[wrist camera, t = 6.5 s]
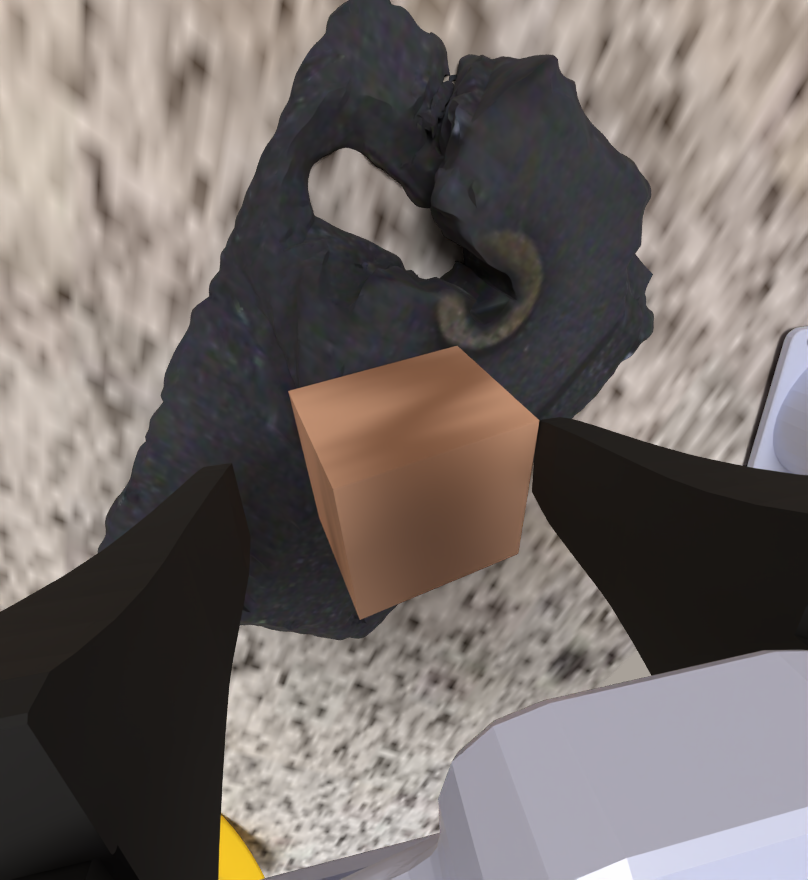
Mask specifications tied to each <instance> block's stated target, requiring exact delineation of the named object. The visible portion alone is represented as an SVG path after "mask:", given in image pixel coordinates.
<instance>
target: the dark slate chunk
mask: <svg viewBox="0 0 808 880" xmlns="http://www.w3.org/2000/svg"><path fill="white" fill-rule="evenodd" d="M445 75H449V81H446V82H443V79H444V76H445ZM453 80H456V82H455V86H454V85H453V83H452V82H451V81H453ZM341 148H351V149H354V150H356V151H358V152H361V153H362V154H364V155H365V156H367V157H368V158H369V159H370V160H371V161H372V162H373V163H374V164H375V165H376V166H377V167H379V168H383V169H384V170H385V171H386V172H387V173H388V174H389V175H391V176H392V177H393V178H394V179H396V180H397V181H398V182H399V183H400V184H401V185H402V187H403V189H404V190H405V192H406V194H407V196H408V197H409V198H410V200H411V201H412V202H413V203H414V204H415V205H416V206H418V207H422V208H431V213H432V216H433V219H434V221H435V222H436V224H437V225H438V226H439V227H440V228H441V230H442V233H443V236H445V237H446V238H448V239H450V240H452V241H454V242H455V243H457V244H459V245H461V246H462V247H463V253H464V259H465V264H462V263H460V262H457V261H455V264H454V266H453V269H452V270H450V271H449V272H447V273H446V274H444V275H443V276H442V277H441V278H440V279H439V278H437V277H433V278H430V279H427V280H425V279H422V278H419V277H418V275H416V274H415V273H414V271H412V270H405V268H404V265H403V263H402V261H401V259H400V258H399V257H398V256H397V255H395V254H393V253H391V252H389V251H387V250H385V249H383V248H381V247H379V246H378V245H376V244H374V243H372V242H370V241H368V240H366V239H364V238H361V237H359V236H356V235H354V234H351V233H348V232H345V231H343V230H341V229H339V228H337V227H335V226H333V225H331V224H329V223H328V222H326V221H324V220H322V219H320V218H318V217H316V216H314V213H313V210H312V206H311V203H310V199H309V194H308V178H309V173H310V170H311V168H312V166H313V165H314V164H315V163H316V162H317V161H318V160H319V159H321V158H322V157H324V156H326V155H328V154H330V153H332V152H334V151H336V150H338V149H341ZM650 198H651V188H650V185H649V183H648V181H647V180H646V179H645V177H644V176H643V175H642V174H641V172H640V171H639V170H638V168H637V166H636V164H635V163H634V162H633V161H632V160H631V159H630V158H628V157H627V156H625V155H623V154H621V153H619V152H618V151H617V150H616V149H615V148H614V147H613V146H612V145H611V144H610V143H609V141H608V140H607V139H606V137H605V136H604V135H603V134H602V133H601V132H600V131H599V130H598V129H597V128H596V127H595V126H594V125H593V124H592V123H591V122H590V120H589V119H588V118H587V116H586V115H585V113H584V111H583V110H582V108H581V105H580V103H579V100H578V97H577V92H576V85H575V82H574V81H573V80H570V79H568V78H566V77H565V76H563V74H562V73H561V71H560V69H559V65H558V59H557V58H556V57H555V56H553V55H537V56H531V57H527V58H522V59H516V58H511V57H504V56H503V57H499V58H496V59H490V58H488V57H486V56H484V55H480V56H477V55H466V56H464V57H462V58H461V59H460V61H459V65H458V73H457V75H451V76H450V72H449V68H448V60H447V51H446V48H445V45H444V43H443V42H442V40H441V39H440V38H439V37H438V36H437V35H435V34H434V33H432V32H430V34H429V33H427V32H425V31H423V30H422V29H421V28H420V27H419V26H418V25H417V24H416V22H415V21H414V19H413V18H412V16H411V15H410V14H409V12H408V11H407V10H406V9H404V8H403V7H401V6H395V5H392V4H391V2H390V0H349V1H347V2H345V3H343V4H342V5H341V6H339V7H338V8H337V9H336V10H335V11H334V12H333V13H332V14H331V15H330V17H329V19H328V22H327V27H326V33H325V35H324V36H323V37H322V38H321V39H320V40H319V41H318V42H317V43H316V44H315V45H314V46H313V47H312V48H311V50H310V51H309V52H308V54H307V56H306V57H305V59H304V60H303V62H302V64H301V66H300V68H299V69H298V71H297V73H296V76H295V79H294V82H293V86H292V90H291V95H290V98H289V101H288V103H287V105H286V106H285V108H284V110H283V112H282V113H281V116H280V119H279V123H278V127H277V130H276V132H275V134H274V136H273V137H272V139H271V140H270V142H269V143H268V144H267V146H266V147H265V149H264V151H263V153H262V155H261V157H260V160H259V163H258V166H257V169H256V172H255V175H254V178H253V180H252V182H251V184H250V186H249V188H248V190H247V192H246V195H245V198H244V201H243V204H242V207H241V209H240V211H239V213H238V215H237V217H236V221H235V228H234V229H233V231H232V233H231V235H230V237H229V239H228V241H227V244H226V247H225V249H224V250H223V251H222V253H221V256H220V270H219V272H218V273H217V274H216V275H215V277H214V278H213V279H212V280H211V283H210V286H209V297H208V298H207V299H205V300H204V301H202V302H201V303H200V304H198V305H197V306H196V307H195V308H194V309H193V310H192V313H191V319H190V325H189V328H188V330H187V332H186V333H185V335H184V337H183V338H182V340H181V341H180V343H179V345H178V346H177V348H176V350H175V352H174V354H173V356H172V359H171V361H170V363H169V365H168V368H167V370H166V373H165V377H164V388H163V390H162V393H161V398H162V400H163V403H162V404H161V406H160V407H159V408H158V409H157V410H156V412H155V413H154V414H153V416H152V417H151V419H150V425H149V430H148V432H147V434H146V436H145V438H146V442H145V443H144V444H142V446H141V447H140V448H139V450H138V453H137V455H136V458H135V461H134V465H133V469H132V474H131V478H130V480H129V482H128V484H127V485H126V487H125V488H124V490H123V491H122V493H121V494H120V495H119V496H118V497H117V498H116V500H115V501H114V503H113V505H112V506H111V508H110V510H109V512H108V514H107V516H106V520H105V526H106V535H105V538H104V540H103V541H102V543H101V544H100V546H99V548H98V553H99V552H101V551H102V550H103V549H105V548H106V547H108V546H109V545H110V544H112V543H113V542H114V541H116V540H117V539H118V538H120V537H121V536H122V535H123V534H125V533H126V532H127V531H128V530H130V529H131V528H132V527H133V526H135V525H136V524H137V523H138V522H140V521H141V520H142V519H143V518H145V517H146V516H147V515H148V514H150V513H151V512H152V511H153V510H154V509H155V508H156V507H158V506H159V505H160V504H161V503H162V502H163V501H164V500H166V499H167V498H168V497H169V496H170V495H171V494H172V493H173V492H175V491H176V490H177V489H178V488H179V487H180V486H181V485H182V484H184V483H185V482H186V481H187V480H188V479H189V478H190V477H191V476H193V475H194V474H195V473H196V472H197V471H199V470H200V469H201V468H203V467H206V466H214V465H221V464H228V463H232V465H233V469H234V473H235V477H236V481H237V485H238V489H239V493H240V497H241V501H242V505H243V509H244V513H245V517H246V521H247V525H248V529H249V533H250V537H251V541H250V566H249V578H248V584H247V589H246V595H245V600H244V605H243V611H242V616H241V621H240V625H256V626H262V627H265V628H268V629H272V630H277V631H290V632H296V633H300V634H311V635H314V636H318V637H324V638H330V639H335V640H343V639H346V638H348V637H351V638H357V639H359V638H363V637H365V636H367V635H368V634H369V633H371V632H372V631H373V630H374V629H375V628H376V627H377V626H378V625H379V624H380V623H381V622H382V621H383V620H384V619H385V617H386V616H387V615H388V614H389V613H390V612H391V611H392V610H393V609H394V608H395V607H396V606H397V605H398V604H397V605H394V606H392V607H390V608H387V609H385V610H382V611H380V612H378V613H375V614H373V615H370V616H368V617H366V618H363V619H361V620H360V619H359V616H358V614H357V611H356V609H355V606H354V604H353V601H352V599H351V596H350V594H349V591H348V589H347V586H346V584H345V581H344V579H343V576H342V574H341V571H340V569H339V566H338V564H337V561H336V559H335V556H334V554H333V551H332V549H331V546H330V543H329V541H328V538H327V536H326V533H325V531H324V528H323V526H322V523H321V521H320V518H319V515H318V510H317V506H316V502H315V498H314V494H313V490H312V486H311V482H310V478H309V474H308V470H307V466H306V461H305V457H304V453H303V449H302V445H301V441H300V437H299V433H298V429H297V425H296V421H295V417H294V412H293V408H292V404H291V400H290V396H289V392H288V391H290V390H294V389H298V388H302V387H305V386H309V385H313V384H316V383H320V382H324V381H328V380H331V379H335V378H339V377H343V376H346V375H350V374H354V373H357V372H361V371H365V370H369V369H372V368H376V367H380V366H383V365H387V364H391V363H395V362H398V361H402V360H406V359H410V358H413V357H417V356H421V355H424V354H428V353H432V352H436V351H439V350H443V349H447V348H450V347H454V346H458V347H459V348H460V349H461V350H462V351H464V352H465V353H466V354H467V355H468V356H469V357H470V358H471V359H472V360H473V361H475V362H476V363H477V364H478V365H479V366H480V367H481V368H482V369H483V370H484V371H486V372H487V373H488V374H489V375H490V376H491V377H492V378H493V379H494V380H495V381H497V382H498V383H499V384H500V385H501V386H502V387H503V388H504V389H505V390H506V391H508V392H509V393H510V394H511V395H512V396H513V397H514V398H515V399H516V400H517V401H519V402H520V403H521V404H522V405H523V406H524V407H525V408H526V409H527V410H528V411H530V412H531V413H532V414H533V415H534V416H535V417H536V418H537V419H538V420H542V419H549V418H556V417H564V418H569V419H572V418H573V417H574V416H575V415H576V414H577V413H578V412H580V411H581V410H582V409H583V408H584V407H585V406H586V405H587V404H588V403H589V402H590V401H591V400H592V399H593V398H594V397H595V396H596V395H597V394H598V393H599V391H600V390H601V389H602V387H603V386H604V384H605V383H606V382H607V381H608V379H609V378H610V377H611V376H612V375H613V374H614V372H615V370H616V369H617V367H618V365H619V364H620V363H621V362H622V361H624V360H626V359H627V358H629V357H631V356H632V355H633V354H634V352H635V351H636V350H637V348H638V347H639V345H640V344H641V343H642V342H643V341H645V340H646V339H647V338H649V337H650V335H651V334H652V332H653V328H654V326H653V321H654V315H653V312H652V311H651V310H649V309H648V308H647V306H646V296H645V291H646V287H647V285H648V283H649V281H650V279H651V277H652V275H653V274H652V273H651V272H650V271H649V270H648V269H647V268H646V267H645V266H644V265H643V263H642V262H641V261H640V260H639V258H638V257H637V256H636V254H635V253H636V252H637V250H638V249H639V247H640V246H641V236H642V219H643V214H644V210H645V207H646V205H647V203H648V202H649V200H650ZM534 454H535V451H534ZM533 462H534V458H533Z"/></svg>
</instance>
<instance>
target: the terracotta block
mask: <svg viewBox="0 0 808 880" xmlns="http://www.w3.org/2000/svg"><path fill="white" fill-rule="evenodd" d="M288 392H289V396H290V400H291V404H292V408H293V412H294V417H295V421H296V425H297V429H298V433H299V437H300V441H301V445H302V449H303V453H304V457H305V461H306V466H307V470H308V474H309V478H310V482H311V486H312V490H313V494H314V498H315V502H316V506H317V510H318V515H319V518H320V521H321V523H322V526H323V528H324V531H325V533H326V536H327V538H328V541H329V543H330V546H331V549H332V551H333V554H334V556H335V559H336V561H337V564H338V566H339V569H340V571H341V574H342V576H343V579H344V581H345V584H346V586H347V589H348V591H349V594H350V596H351V599H352V601H353V604H354V606H355V609H356V611H357V614H358V616H359V619H360V620H361V619H363V618H366V617H368V616H370V615H373V614H375V613H378V612H380V611H382V610H385V609H387V608H390V607H392V606H394V605H397V604H399V603H402V602H404V601H406V600H409V599H411V598H414V597H416V596H418V595H421V594H423V593H426V592H428V591H430V590H433V589H435V588H438V587H440V586H442V585H445V584H447V583H449V582H452V581H454V580H457V579H459V578H461V577H464V576H466V575H469V574H471V573H473V572H476V571H478V570H481V569H483V568H485V567H488V566H490V565H493V564H495V563H497V562H500V561H502V560H505V559H507V558H509V557H512V556H514V555H517V554H518V552H519V546H520V539H521V533H522V527H523V521H524V514H525V508H526V502H527V495H528V489H529V483H530V477H531V470H532V464H533V458H534V451H535V445H536V439H537V433H538V426H539V420H538V419H537V418H536V417H535V416H534V415H533V414H532V413H531V412H530V411H528V410H527V409H526V408H525V407H524V406H523V405H522V404H521V403H520V402H519V401H517V400H516V399H515V398H514V397H513V396H512V395H511V394H510V393H509V392H508V391H506V390H505V389H504V388H503V387H502V386H501V385H500V384H499V383H498V382H497V381H495V380H494V379H493V378H492V377H491V376H490V375H489V374H488V373H487V372H486V371H484V370H483V369H482V368H481V367H480V366H479V365H478V364H477V363H476V362H475V361H473V360H472V359H471V358H470V357H469V356H468V355H467V354H466V353H465V352H464V351H462V350H461V349H460V348H459V347H458V346H454V347H450V348H447V349H443V350H439V351H436V352H432V353H428V354H424V355H421V356H417V357H413V358H410V359H406V360H402V361H398V362H395V363H391V364H387V365H383V366H380V367H376V368H372V369H369V370H365V371H361V372H357V373H354V374H350V375H346V376H343V377H339V378H335V379H331V380H328V381H324V382H320V383H316V384H313V385H309V386H305V387H302V388H298V389H294V390H290V391H288Z"/></svg>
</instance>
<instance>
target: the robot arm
mask: <svg viewBox="0 0 808 880" xmlns="http://www.w3.org/2000/svg"><path fill="white" fill-rule="evenodd" d="M807 339H808V326H805V327H798V328H795V329H793V330H792V331H790V332H789V333H788V334H787V336H786V337H785V340H784V343H783V346H782V350H781V353H780V356H779V360H778V363H777V367H776V370H775V373H774V377H773V380H772V384H771V387H770V390H769V394H768V397H767V401H766V404H765V407H764V411H763V414H762V418H761V421H760V424H759V428H758V431H757V435H756V438H755V441H754V445H753V448H752V451H751V455H750V458H749V462H748V465H747V467H746V466H740V465H735V464H730V463H726V462H721V461H716V460H711V459H707V458H702V457H698V456H694V455H690V454H686V453H682V452H679V451H675V450H671V449H668V448H664V447H661V446H657V445H654V444H650V443H647V442H644V441H641V440H637V439H634V438H631V437H628V436H625V435H622V434H619V433H616V432H613V431H610V430H607V429H603V428H600V427H597V426H594V425H591V424H588V423H584V422H581V421H577V420H574V419H569V418H564V417H556V418H549V419H542V420H539V426H538V433H537V439H536V445H535V454H534V469H533V483H532V493H533V495H534V496H535V498H536V500H537V502H538V504H539V506H540V508H541V510H542V512H543V513H544V515H545V517H546V519H547V521H548V522H549V524H550V525H551V527H552V528H553V529H554V531H555V532H556V533H557V535H558V536H559V537H560V539H561V540H562V541H563V543H564V544H565V545H566V547H567V548H568V549H569V551H570V552H571V553H572V555H573V556H574V557H575V559H576V560H577V561H578V562H579V564H580V565H581V566H582V568H583V569H584V570H585V572H586V573H587V574H588V576H589V577H590V578H591V579H592V581H593V582H594V583H595V585H596V586H597V587H598V589H599V590H600V591H601V593H602V594H603V596H604V597H605V598H606V600H607V601H608V603H609V604H610V606H611V607H612V609H613V610H614V612H615V614H616V615H617V617H618V619H619V620H620V622H621V624H622V625H623V627H624V629H625V630H626V632H627V634H628V635H629V637H630V638H631V640H632V642H633V643H634V645H635V647H636V649H637V651H638V652H639V654H640V656H641V658H642V659H643V661H644V663H645V665H646V667H647V668H648V670H649V672H650V674H651V675H652V676H648V677H644V678H640V679H635V680H631V681H626V682H622V683H618V684H613V685H609V686H605V687H600V688H596V689H591V690H587V691H582V692H578V693H574V694H569V695H565V696H560V697H556V698H552V699H547V700H543V701H541V702H538V703H536V704H533V705H531V706H528V707H526V708H523V709H521V710H519V711H516V712H514V713H511V714H509V715H506V716H504V717H501V718H499V719H496V720H494V721H493V722H492V723H491V724H489V725H488V726H487V727H486V728H485V729H484V730H483V731H481V732H480V733H479V734H478V735H477V736H476V737H475V738H473V739H472V740H471V741H470V742H469V743H468V744H467V745H465V746H464V747H463V748H462V749H461V750H460V751H459V752H458V753H457V754H456V756H455V758H454V759H453V761H452V763H451V765H450V768H449V771H448V773H447V776H446V779H445V782H444V784H443V787H442V790H441V792H440V795H439V798H438V804H439V824H440V833H437V834H433V835H429V836H426V837H422V838H418V839H414V840H410V841H406V842H403V843H399V844H395V845H391V846H387V847H383V848H379V849H376V850H372V851H368V852H364V853H360V854H356V855H353V856H349V857H345V858H341V859H337V860H333V861H330V862H326V863H322V864H318V865H314V866H310V867H306V868H303V869H299V870H295V871H291V872H287V873H283V874H280V875H276V876H272V877H268V878H264V879H260V880H808V340H807ZM250 541H251V537H250V533H249V529H248V525H247V521H246V517H245V513H244V509H243V505H242V501H241V497H240V493H239V489H238V485H237V481H236V477H235V473H234V469H233V465H232V463H228V464H221V465H214V466H206V467H203V468H201V469H200V470H199V471H197V472H196V473H195V474H194V475H193V476H191V477H190V478H189V479H188V480H187V481H186V482H185V483H184V484H182V485H181V486H180V487H179V488H178V489H177V490H176V491H175V492H173V493H172V494H171V495H170V496H169V497H168V498H167V499H166V500H164V501H163V502H162V503H161V504H160V505H159V506H158V507H156V508H155V509H154V510H153V511H152V512H151V513H150V514H148V515H147V516H146V517H145V518H143V519H142V520H141V521H140V522H138V523H137V524H136V525H135V526H133V527H132V528H131V529H130V530H128V531H127V532H126V533H125V534H123V535H122V536H121V537H120V538H118V539H117V540H116V541H114V542H113V543H112V544H110V545H109V546H108V547H106V548H105V549H103V550H102V551H101V552H99V553H98V554H96V555H95V556H93V557H92V558H90V559H89V560H87V561H86V562H84V563H83V564H81V565H80V566H78V567H77V568H75V569H74V570H72V571H71V572H69V573H67V574H66V575H64V576H63V577H61V578H59V579H58V580H56V581H54V582H52V583H51V584H49V585H47V586H45V587H44V588H42V589H40V590H38V591H37V592H35V593H33V594H31V595H30V596H28V597H26V598H24V599H23V600H21V601H19V602H17V603H16V604H14V605H12V606H10V607H8V608H7V609H5V610H3V611H1V612H0V880H218V879H219V845H220V823H221V801H222V780H223V764H224V748H225V732H226V720H227V707H228V695H229V683H230V676H231V669H232V663H233V657H234V652H235V647H236V642H237V637H238V631H239V626H240V621H241V616H242V611H243V605H244V600H245V595H246V589H247V584H248V578H249V566H250Z"/></svg>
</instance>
